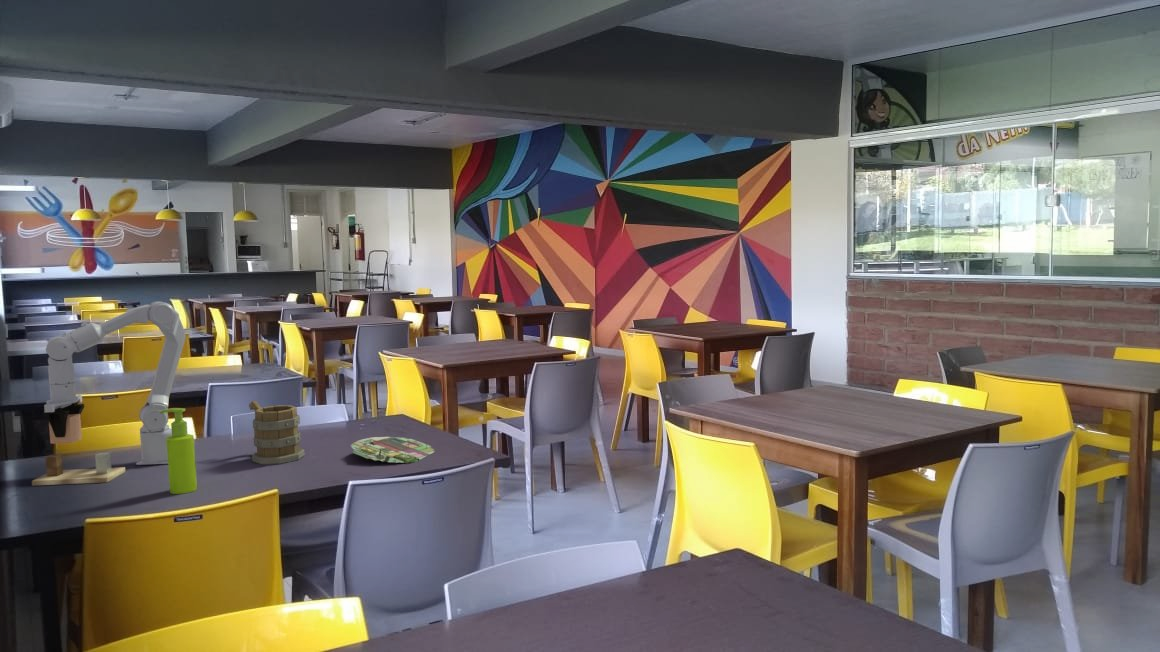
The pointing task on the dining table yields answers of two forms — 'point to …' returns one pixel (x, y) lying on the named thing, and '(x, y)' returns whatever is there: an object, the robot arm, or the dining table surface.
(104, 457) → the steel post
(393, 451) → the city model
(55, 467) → the walnut post
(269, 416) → the tankard
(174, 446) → the soap dispenser
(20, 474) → the dining table surface
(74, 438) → the tan cardboard box
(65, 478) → the birch board
